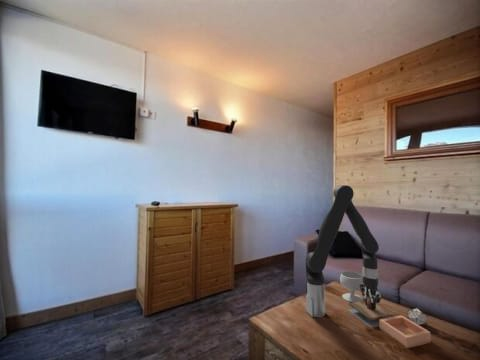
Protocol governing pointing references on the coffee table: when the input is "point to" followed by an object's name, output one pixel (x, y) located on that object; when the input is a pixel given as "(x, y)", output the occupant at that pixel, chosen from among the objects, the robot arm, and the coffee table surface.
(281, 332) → the coffee table surface
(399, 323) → the pink square tray
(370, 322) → the mat
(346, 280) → the chalice
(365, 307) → the lid
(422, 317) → the game die
